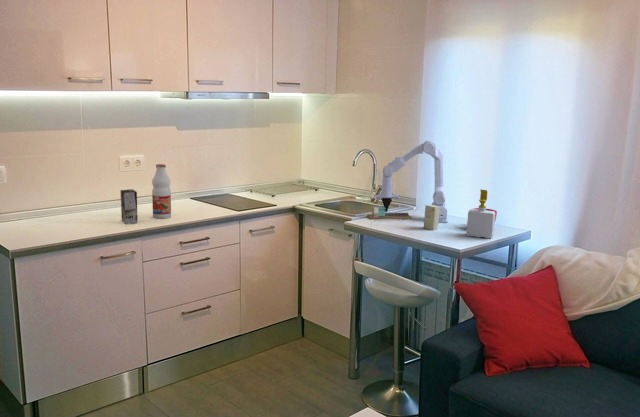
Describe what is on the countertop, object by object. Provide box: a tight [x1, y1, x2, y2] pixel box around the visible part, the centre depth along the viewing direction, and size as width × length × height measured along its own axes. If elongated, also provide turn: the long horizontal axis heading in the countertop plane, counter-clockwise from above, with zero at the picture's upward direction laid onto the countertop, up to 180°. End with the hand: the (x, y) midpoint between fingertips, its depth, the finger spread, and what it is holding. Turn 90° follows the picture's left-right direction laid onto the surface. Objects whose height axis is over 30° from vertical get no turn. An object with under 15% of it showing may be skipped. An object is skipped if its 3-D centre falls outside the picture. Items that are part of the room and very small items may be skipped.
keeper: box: [375, 205, 386, 216], centre depth 324 cm, size 5×4×5 cm
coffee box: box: [120, 188, 139, 225], centre depth 295 cm, size 9×6×16 cm
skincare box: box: [423, 204, 440, 231], centre depth 300 cm, size 6×4×12 cm
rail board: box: [366, 205, 413, 220], centre depth 325 cm, size 9×24×6 cm, turn 100°
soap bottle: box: [465, 189, 496, 239], centre depth 286 cm, size 12×7×23 cm, turn 66°
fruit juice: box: [151, 163, 172, 220], centre depth 307 cm, size 9×9×28 cm
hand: (385, 211), depth 325 cm, fingers closed
